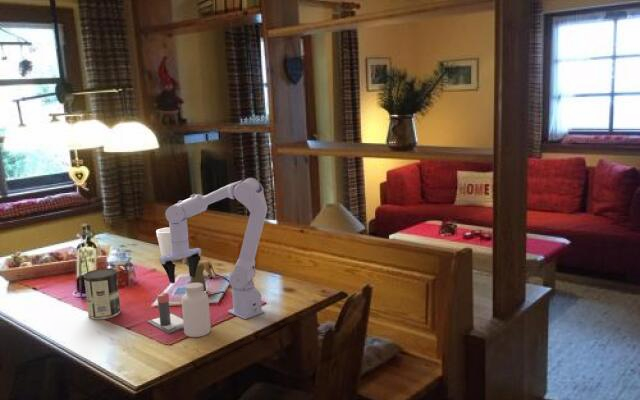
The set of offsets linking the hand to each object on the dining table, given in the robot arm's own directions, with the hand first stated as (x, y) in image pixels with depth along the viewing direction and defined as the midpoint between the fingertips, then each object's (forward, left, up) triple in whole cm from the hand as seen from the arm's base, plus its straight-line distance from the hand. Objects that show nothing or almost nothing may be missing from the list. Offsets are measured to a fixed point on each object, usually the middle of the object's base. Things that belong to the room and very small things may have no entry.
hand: (182, 279), depth 190 cm
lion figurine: (+25, -23, -11) cm, 35 cm away
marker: (-8, +12, -10) cm, 17 cm away
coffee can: (+17, +20, -11) cm, 28 cm away
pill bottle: (-19, +7, -11) cm, 23 cm away
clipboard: (-7, +10, -10) cm, 16 cm away
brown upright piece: (+10, -12, -11) cm, 19 cm away
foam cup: (+55, -27, -11) cm, 62 cm away
